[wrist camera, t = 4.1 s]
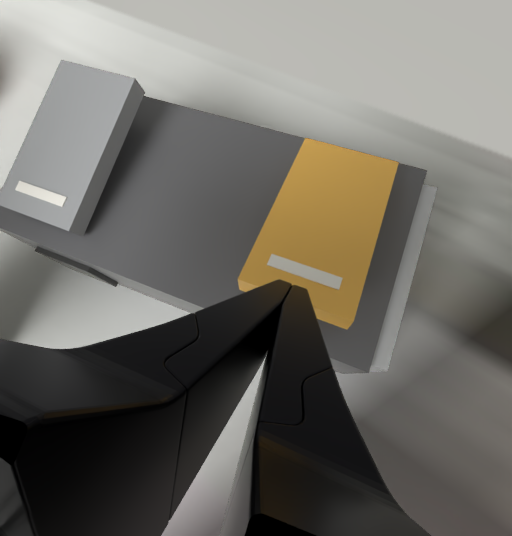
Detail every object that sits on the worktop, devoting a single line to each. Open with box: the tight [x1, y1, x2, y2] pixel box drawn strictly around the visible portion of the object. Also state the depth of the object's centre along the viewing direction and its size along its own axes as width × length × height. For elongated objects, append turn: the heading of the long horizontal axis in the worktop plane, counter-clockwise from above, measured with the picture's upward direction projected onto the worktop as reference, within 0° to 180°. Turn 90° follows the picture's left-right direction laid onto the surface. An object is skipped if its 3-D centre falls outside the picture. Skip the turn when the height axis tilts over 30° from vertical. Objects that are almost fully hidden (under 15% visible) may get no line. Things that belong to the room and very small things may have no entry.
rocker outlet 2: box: [238, 138, 399, 330], centre depth 14 cm, size 8×4×1 cm, turn 158°
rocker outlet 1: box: [0, 60, 145, 236], centre depth 16 cm, size 8×4×1 cm, turn 158°
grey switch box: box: [0, 96, 437, 373], centre depth 19 cm, size 10×22×6 cm, turn 68°
